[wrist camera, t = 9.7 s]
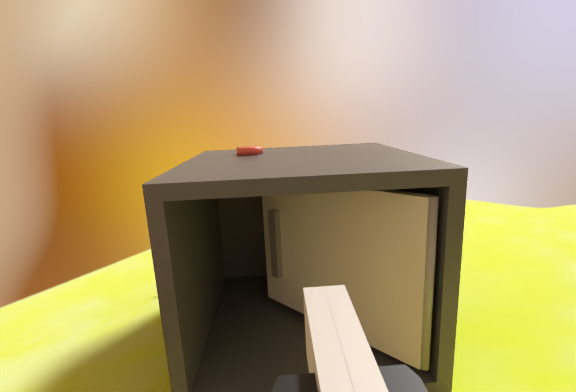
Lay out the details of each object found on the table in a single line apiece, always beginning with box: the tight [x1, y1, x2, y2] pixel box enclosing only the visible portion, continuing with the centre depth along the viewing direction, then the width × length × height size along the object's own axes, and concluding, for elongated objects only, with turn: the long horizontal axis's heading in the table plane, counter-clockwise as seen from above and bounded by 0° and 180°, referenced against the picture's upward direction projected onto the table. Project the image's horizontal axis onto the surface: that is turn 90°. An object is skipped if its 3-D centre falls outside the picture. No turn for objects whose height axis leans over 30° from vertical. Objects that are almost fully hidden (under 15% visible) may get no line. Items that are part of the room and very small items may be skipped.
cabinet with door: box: [142, 143, 468, 392], centre depth 29 cm, size 20×18×16 cm
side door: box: [262, 190, 439, 371], centre depth 26 cm, size 15×1×12 cm, turn 46°
